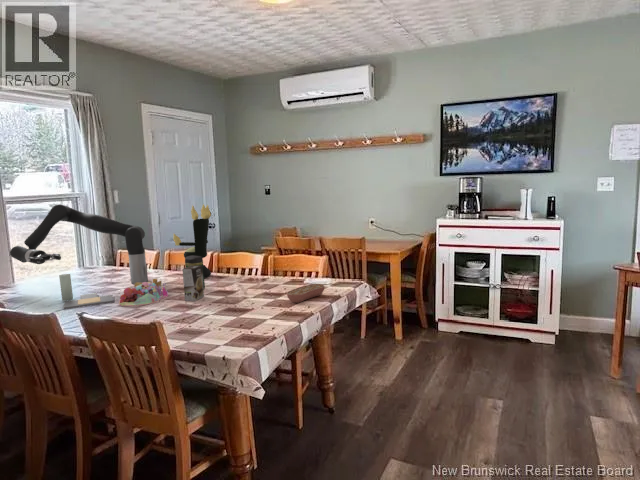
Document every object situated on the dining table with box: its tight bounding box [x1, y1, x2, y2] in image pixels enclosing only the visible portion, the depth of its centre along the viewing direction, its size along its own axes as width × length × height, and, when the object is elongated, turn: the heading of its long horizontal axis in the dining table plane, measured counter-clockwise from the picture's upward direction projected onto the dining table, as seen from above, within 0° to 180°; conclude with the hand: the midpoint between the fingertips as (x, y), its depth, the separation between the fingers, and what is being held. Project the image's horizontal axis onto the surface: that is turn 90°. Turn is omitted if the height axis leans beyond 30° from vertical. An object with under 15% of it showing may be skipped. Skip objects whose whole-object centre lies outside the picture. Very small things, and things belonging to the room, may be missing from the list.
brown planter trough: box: [286, 283, 326, 304], centre depth 216 cm, size 23×10×5 cm, turn 142°
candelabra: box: [172, 203, 212, 279], centre depth 274 cm, size 19×22×45 cm
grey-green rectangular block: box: [58, 273, 74, 302], centre depth 233 cm, size 5×5×13 cm
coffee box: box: [182, 266, 205, 302], centre depth 224 cm, size 9×6×16 cm
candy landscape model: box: [118, 278, 169, 307], centre depth 228 cm, size 25×24×9 cm
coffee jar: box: [184, 255, 206, 289], centre depth 244 cm, size 10×8×19 cm
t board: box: [62, 292, 115, 310], centre depth 230 cm, size 22×23×1 cm
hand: (51, 259), depth 237 cm, fingers open, 8 cm apart
